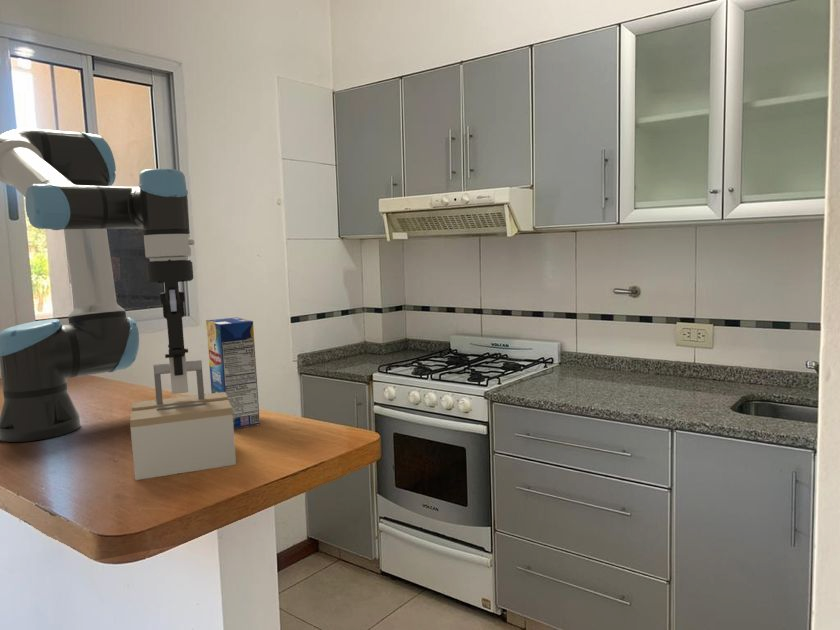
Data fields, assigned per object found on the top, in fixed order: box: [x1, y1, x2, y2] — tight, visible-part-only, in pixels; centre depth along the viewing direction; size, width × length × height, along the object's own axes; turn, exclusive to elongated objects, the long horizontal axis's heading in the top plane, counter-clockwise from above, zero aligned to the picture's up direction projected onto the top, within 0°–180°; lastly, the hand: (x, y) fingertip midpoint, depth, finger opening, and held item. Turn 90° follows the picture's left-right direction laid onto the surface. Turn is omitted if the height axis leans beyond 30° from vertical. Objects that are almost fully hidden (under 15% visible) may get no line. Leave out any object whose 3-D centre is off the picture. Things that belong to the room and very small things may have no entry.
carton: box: [129, 400, 237, 481], centre depth 114 cm, size 14×16×10 cm
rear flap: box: [131, 359, 228, 412], centre depth 117 cm, size 7×16×8 cm, turn 112°
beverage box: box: [205, 316, 261, 430], centre depth 138 cm, size 7×11×22 cm, turn 33°
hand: (180, 391), depth 115 cm, fingers open, 2 cm apart
